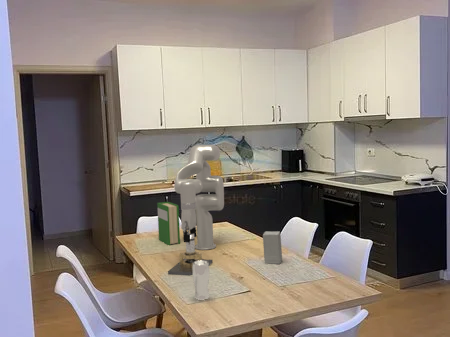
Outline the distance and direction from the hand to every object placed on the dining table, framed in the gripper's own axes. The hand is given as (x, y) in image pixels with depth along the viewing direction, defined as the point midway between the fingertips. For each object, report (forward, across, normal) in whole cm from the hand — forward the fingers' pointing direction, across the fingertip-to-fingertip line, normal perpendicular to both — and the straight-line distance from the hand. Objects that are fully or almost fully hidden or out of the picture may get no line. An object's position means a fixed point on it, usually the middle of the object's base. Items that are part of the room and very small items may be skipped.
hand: (190, 239), depth 227 cm
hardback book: (+16, -49, -32) cm, 61 cm away
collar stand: (+15, +1, 0) cm, 15 cm away
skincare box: (+15, -15, +39) cm, 45 cm away
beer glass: (+14, +39, +18) cm, 45 cm away
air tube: (+13, +1, 0) cm, 13 cm away
